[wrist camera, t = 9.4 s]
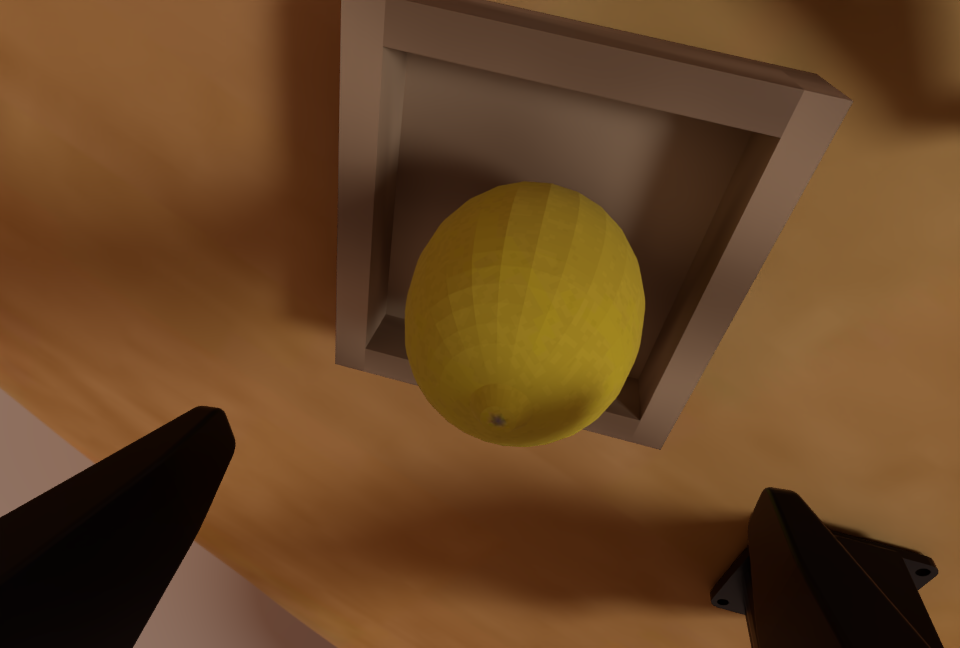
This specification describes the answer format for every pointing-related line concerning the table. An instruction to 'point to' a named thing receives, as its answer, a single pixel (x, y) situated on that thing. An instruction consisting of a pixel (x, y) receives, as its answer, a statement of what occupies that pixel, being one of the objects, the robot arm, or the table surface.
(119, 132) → the table surface
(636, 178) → the tray
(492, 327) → the lemon
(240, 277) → the table surface
